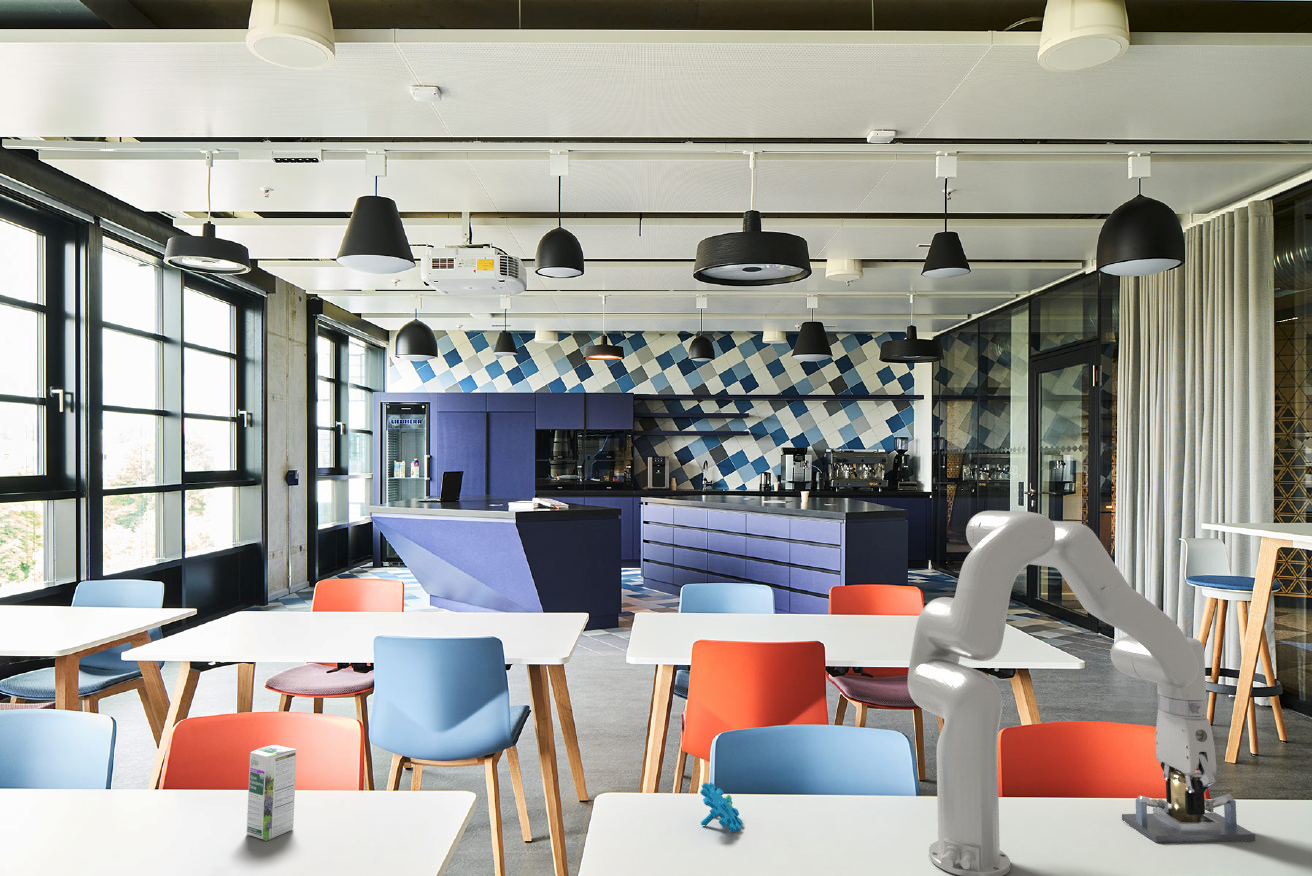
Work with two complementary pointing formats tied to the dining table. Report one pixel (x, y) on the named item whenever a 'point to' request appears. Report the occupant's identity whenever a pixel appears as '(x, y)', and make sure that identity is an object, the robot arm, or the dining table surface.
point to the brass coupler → (1180, 798)
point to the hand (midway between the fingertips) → (1185, 807)
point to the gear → (720, 808)
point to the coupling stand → (1188, 823)
